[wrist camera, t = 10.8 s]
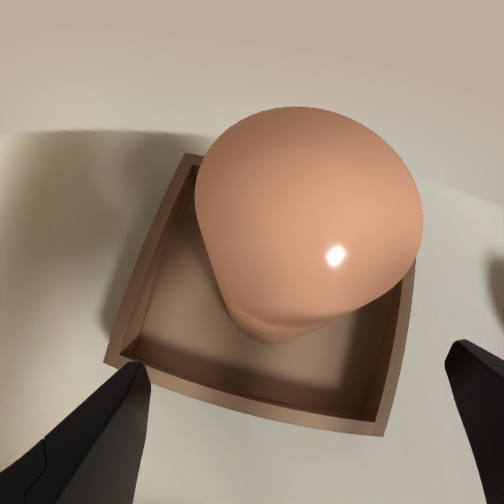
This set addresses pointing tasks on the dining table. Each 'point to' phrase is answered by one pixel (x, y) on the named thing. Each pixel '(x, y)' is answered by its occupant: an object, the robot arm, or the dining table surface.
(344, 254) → the terracotta cylinder
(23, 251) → the dining table surface
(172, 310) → the box
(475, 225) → the dining table surface
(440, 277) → the dining table surface
